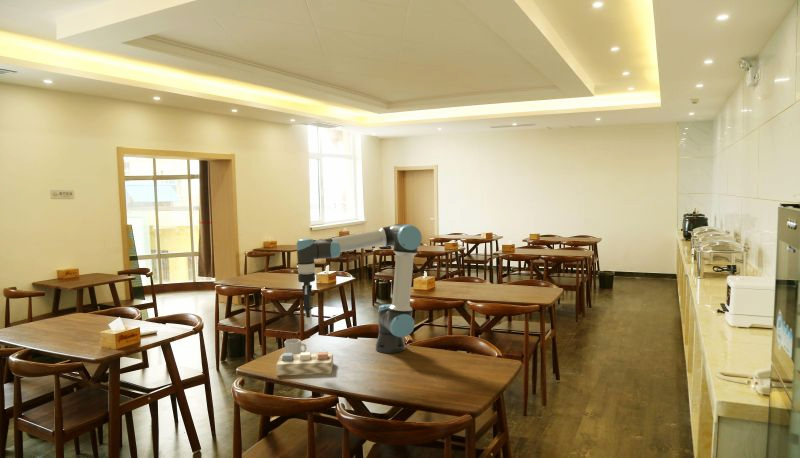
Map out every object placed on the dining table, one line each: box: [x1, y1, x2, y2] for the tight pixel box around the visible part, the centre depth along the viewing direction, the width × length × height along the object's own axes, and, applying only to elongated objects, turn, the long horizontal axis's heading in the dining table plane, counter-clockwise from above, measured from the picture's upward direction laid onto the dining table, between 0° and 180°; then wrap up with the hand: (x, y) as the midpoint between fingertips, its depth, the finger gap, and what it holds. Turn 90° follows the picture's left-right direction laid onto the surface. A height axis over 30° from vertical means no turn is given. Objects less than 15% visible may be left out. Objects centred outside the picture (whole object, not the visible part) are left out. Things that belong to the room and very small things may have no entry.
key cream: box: [300, 351, 312, 360], centre depth 238 cm, size 4×4×5 cm
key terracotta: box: [317, 351, 329, 360], centre depth 238 cm, size 4×4×5 cm
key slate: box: [281, 352, 293, 361], centre depth 237 cm, size 4×4×5 cm
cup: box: [284, 338, 307, 354], centre depth 256 cm, size 11×8×8 cm
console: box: [275, 352, 334, 377], centre depth 238 cm, size 24×14×5 cm, turn 94°
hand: (308, 323), depth 239 cm, fingers closed
